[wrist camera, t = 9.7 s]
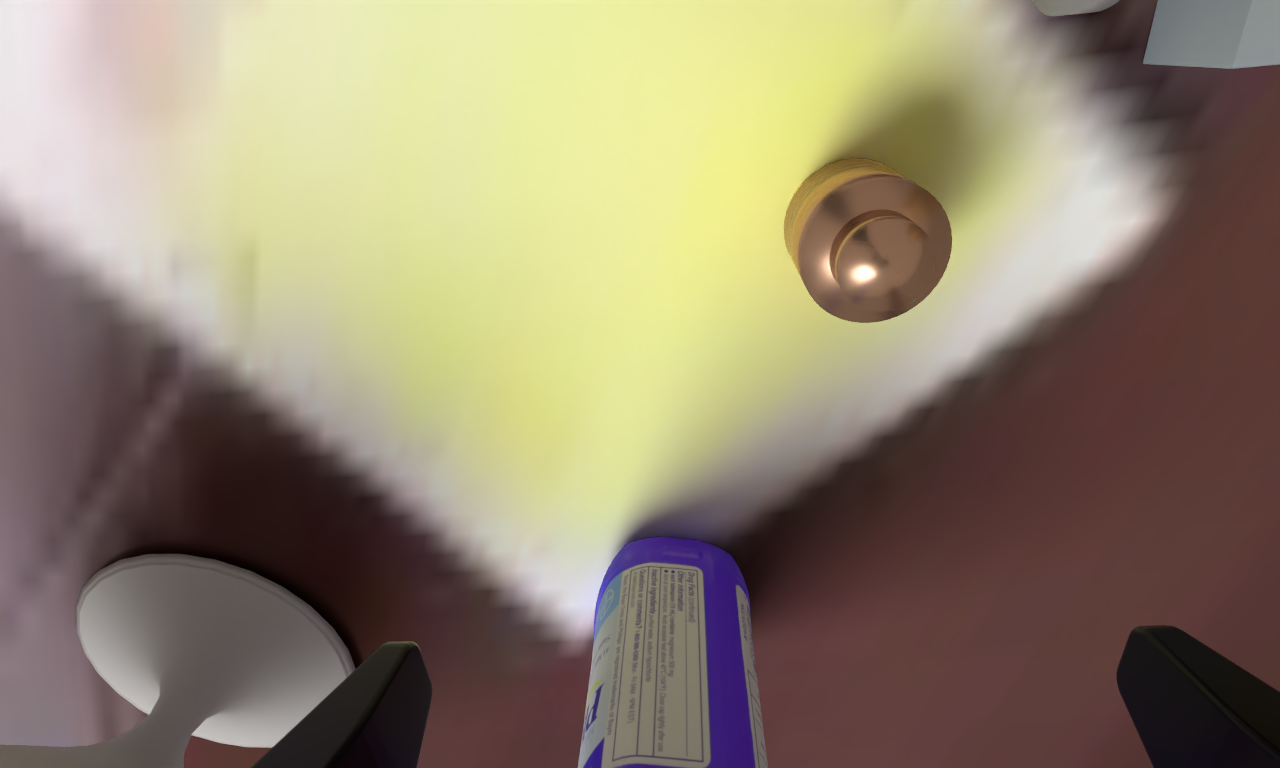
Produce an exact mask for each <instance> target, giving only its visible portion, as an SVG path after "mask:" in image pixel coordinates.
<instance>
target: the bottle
mask: <svg viewBox="0 0 1280 768" xmlns="http://www.w3.org/2000/svg"><path fill="white" fill-rule="evenodd" d="M578 768H768V765H767V757H766V749H765V740H764V732H763V724H762V716H761V707H760V699H759V691H758V682H757V674H756V665H755V656H754V645H753V636H752V627H751V618H750V599H749V593H748V590H747V586H746V583H745V580H744V578H743V575H742V573H741V571H740V569H739V567H738V565H737V564H736V562H735V560H734V559H733V557H732V555H730V554H729V553H727V552H725V551H724V550H722V549H720V548H718V547H716V546H713V545H711V544H708V543H705V542H702V541H698V540H692V539H677V538H672V537H653V538H645V539H641V540H637V541H633V542H629V543H627V544H626V545H625V546H624V548H623V549H622V550H621V551H620V552H619V553H618V554H617V556H616V557H615V558H614V560H613V561H612V563H611V565H610V566H609V568H608V570H607V572H606V575H605V577H604V579H603V582H602V585H601V588H600V591H599V594H598V599H597V603H596V610H595V619H594V645H593V655H592V666H591V673H590V680H589V688H588V695H587V703H586V711H585V718H584V726H583V734H582V741H581V749H580V756H579V763H578Z"/></svg>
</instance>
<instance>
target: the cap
mask: <svg viewBox="0 0 1280 768" xmlns="http://www.w3.org/2000/svg"><path fill="white" fill-rule="evenodd" d="M784 238H785V243H786V246H787V249H788V252H789V254H790V256H791V258H792V260H793V262H794V264H795V266H796V268H797V270H798V272H799V274H800V276H801V278H802V280H803V282H804V284H805V286H806V288H807V290H808V292H809V294H810V295H811V297H812V298H813V299H814V301H815V302H816V303H817V304H818V305H819V306H820V307H821V308H823V309H824V310H825V311H827V312H828V313H830V314H832V315H834V316H836V317H838V318H841V319H844V320H848V321H852V322H860V323H870V322H878V321H883V320H887V319H891V318H893V317H896V316H899V315H901V314H903V313H905V312H907V311H908V310H910V309H912V308H913V307H915V306H916V305H917V304H919V303H920V302H921V301H922V300H924V299H925V298H926V297H927V296H928V295H929V294H930V293H931V291H932V290H933V289H934V288H935V287H936V285H937V284H938V282H939V281H940V279H941V278H942V276H943V274H944V272H945V269H946V267H947V264H948V261H949V258H950V253H951V246H952V235H951V228H950V223H949V220H948V217H947V215H946V213H945V211H944V209H943V208H942V206H941V204H940V203H939V202H938V201H937V200H936V198H935V197H933V196H932V195H931V194H930V193H929V192H928V191H926V190H924V189H923V188H921V187H920V186H918V185H916V184H915V183H913V182H912V181H910V180H908V179H907V178H905V177H904V176H902V175H900V174H899V173H897V172H896V171H894V170H893V169H891V168H889V167H888V166H886V165H884V164H882V163H880V162H877V161H874V160H870V159H863V158H851V159H844V160H840V161H836V162H833V163H831V164H829V165H826V166H824V167H823V168H821V169H819V170H817V171H816V172H815V173H813V174H812V175H811V176H810V177H808V178H807V179H806V180H805V181H804V182H803V183H802V185H801V186H800V187H799V188H798V190H797V191H796V193H795V194H794V196H793V197H792V199H791V202H790V204H789V206H788V209H787V212H786V216H785V221H784Z"/></svg>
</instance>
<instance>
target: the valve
mask: <svg viewBox="0 0 1280 768" xmlns="http://www.w3.org/2000/svg"><path fill="white" fill-rule="evenodd" d="M1118 1H1120V0H1032V2H1033V4H1034V5H1035V6H1036V8H1037V9H1038V10H1039V11H1040V12H1042V13H1043V14H1046V15H1048V16H1061V15H1071V14H1081V13H1091V12H1097V11H1102V10H1104V9H1107V8H1109V7H1111V6H1112V5H1114V4H1115V3H1117V2H1118ZM1143 64H1156V65H1174V66H1193V67H1211V68H1229V69H1234V68H1245V67H1256V66H1267V65H1278V64H1280V0H1158V2H1157V6H1156V10H1155V15H1154V19H1153V23H1152V27H1151V31H1150V35H1149V40H1148V44H1147V48H1146V52H1145V56H1144V60H1143Z"/></svg>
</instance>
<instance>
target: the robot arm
mask: <svg viewBox="0 0 1280 768" xmlns="http://www.w3.org/2000/svg"><path fill="white" fill-rule="evenodd" d="M1117 684H1118V688H1119V691H1120V693H1121V696H1122V698H1123V700H1124V703H1125V705H1126V707H1127V709H1128V711H1129V714H1130V716H1131V718H1132V720H1133V723H1134V725H1135V727H1136V729H1137V732H1138V734H1139V736H1140V738H1141V740H1142V743H1143V745H1144V747H1145V749H1146V752H1147V754H1148V756H1149V758H1150V761H1151V763H1152V765H1153V767H1154V768H1280V692H1279V691H1277V690H1276V689H1274V688H1273V687H1271V686H1269V685H1268V684H1266V683H1265V682H1263V681H1261V680H1260V679H1258V678H1257V677H1255V676H1254V675H1252V674H1250V673H1249V672H1247V671H1246V670H1244V669H1242V668H1241V667H1239V666H1238V665H1236V664H1235V663H1233V662H1231V661H1230V660H1228V659H1227V658H1225V657H1224V656H1222V655H1220V654H1219V653H1217V652H1216V651H1214V650H1212V649H1211V648H1209V647H1208V646H1206V645H1205V644H1203V643H1201V642H1200V641H1198V640H1197V639H1195V638H1193V637H1192V636H1190V635H1189V634H1187V633H1186V632H1184V631H1182V630H1180V629H1178V628H1176V627H1173V626H1166V625H1160V626H1138V627H1136V628H1134V629H1133V630H1132V631H1131V633H1130V635H1129V638H1128V640H1127V643H1126V646H1125V649H1124V652H1123V654H1122V657H1121V660H1120V663H1119V666H1118V669H1117ZM431 699H432V682H431V679H430V676H429V673H428V670H427V667H426V665H425V662H424V659H423V656H422V654H421V651H420V648H419V646H418V645H417V644H416V643H415V642H412V641H399V642H387V643H385V644H383V645H381V646H380V647H379V648H378V649H377V650H376V651H374V652H373V653H372V654H371V655H370V656H369V657H368V658H367V659H366V660H365V661H364V662H363V663H362V664H361V665H360V666H359V667H357V668H356V669H355V670H354V671H353V672H352V673H351V674H350V675H349V676H348V677H347V678H346V679H345V680H344V681H343V682H341V683H340V684H339V685H338V686H337V687H336V688H335V689H334V690H333V691H332V692H331V693H330V694H329V695H328V696H327V697H326V698H324V699H323V700H322V701H321V702H320V703H319V704H318V705H317V706H316V707H315V708H314V709H313V710H312V711H311V712H310V713H308V714H307V715H306V716H305V717H304V718H303V719H302V720H301V721H300V722H299V723H298V724H297V725H296V726H295V727H294V728H293V729H291V730H290V731H289V732H288V733H287V734H286V735H285V736H284V737H283V738H282V739H281V740H280V741H279V742H278V743H277V744H275V745H274V746H273V747H272V748H271V749H270V750H269V751H268V752H267V753H266V754H265V755H264V756H263V757H262V758H261V759H260V760H258V761H257V762H256V763H255V764H254V765H253V766H252V767H251V768H416V767H417V763H418V758H419V754H420V749H421V745H422V740H423V736H424V731H425V727H426V722H427V718H428V713H429V709H430V704H431Z"/></svg>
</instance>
